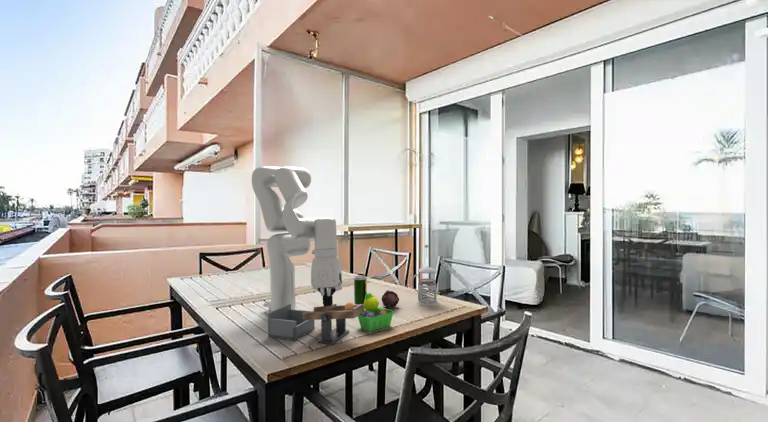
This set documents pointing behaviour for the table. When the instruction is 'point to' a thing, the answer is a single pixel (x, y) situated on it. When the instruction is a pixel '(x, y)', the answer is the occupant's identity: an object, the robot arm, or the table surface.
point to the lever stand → (326, 330)
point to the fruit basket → (374, 314)
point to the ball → (349, 306)
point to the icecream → (390, 299)
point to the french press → (423, 298)
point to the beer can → (360, 289)
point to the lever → (334, 312)
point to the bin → (288, 323)
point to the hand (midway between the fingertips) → (327, 306)
